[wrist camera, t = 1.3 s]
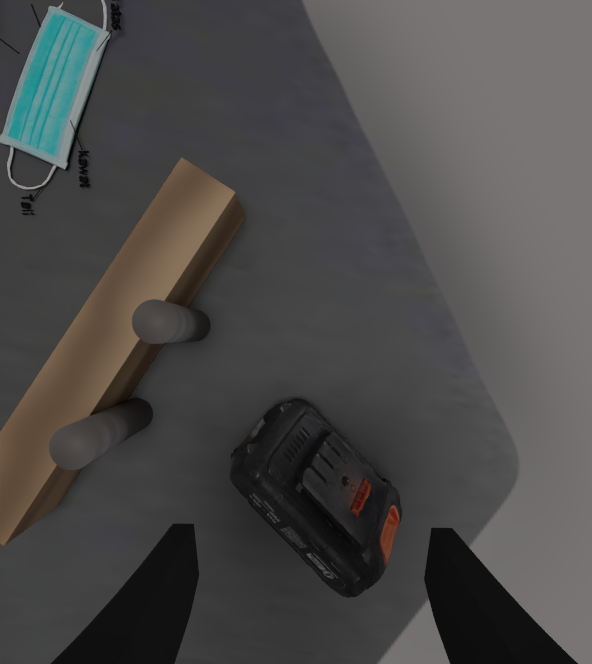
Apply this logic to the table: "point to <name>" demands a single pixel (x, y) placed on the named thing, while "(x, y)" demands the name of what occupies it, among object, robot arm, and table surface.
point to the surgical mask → (55, 89)
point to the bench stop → (115, 346)
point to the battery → (319, 496)
